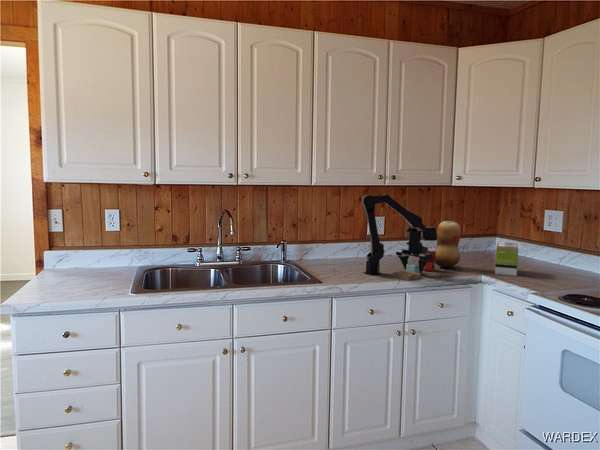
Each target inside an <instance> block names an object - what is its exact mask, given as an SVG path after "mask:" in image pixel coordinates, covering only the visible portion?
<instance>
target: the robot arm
mask: <svg viewBox="0 0 600 450" xmlns="http://www.w3.org/2000/svg"><path fill="white" fill-rule="evenodd" d="M361 203H362V205H363V208H364V212H365V214H366V218H367V223H368V224H367V225H368V230H369V236H370V250H369V253H367V254H366V255H365V257H366V260H367V261H365V271H363V273H364V274H366V275H370V276H375V275H376V276H377V275H382V272H380V269H381V267H380V266H381V264H380V261H381V259H383V258H384V256H385V253H386V252H385V244H384V243H383V242H380V238H379V232H378V227H377V222H376V221H377V220H376V215H375V214H376V213H375V211H376V205H377V204H382V203H383V204H384V203H385V204H386V205H387V206H389V207H390V208H391V209H393V210H394V211H395V212H397V214H399V215H400V216H401V217H403V219H404V220H405V221H406V222H407V223H408V224H409V225H410V226H411V227H410V226H407V227H406V228H405V229H404V231H405V232H408V241H407V242H406V245H408V247H407V249H406V248H399V249H396V251H395V255H396V256H397V258H399V260H400V262H401V264H402V266H403V268H404V271H405V270H406V264H409V257H410V256H411V257H414V258H415V257H416V258H419V259H420V260H419V259H418V264H419V271H420V273H421V274H422V273H423V272H424V271H423V269H424V267H425V265H426V263H427V262H428V261H430V260H433V255H432V254H430V253H427V251H428V248H429V247H426V246H425V245H423V242H422V241H421V239H422V240H423V241H424V242H425V241H426V242H427V241H428V242H429V241H430V242H431V241H432V242H437V228H436V226H431V227H427V226H425V224H424V223H423V218H422V217H421V216H419V215H417V214H416V213H413V212H411V211H410V210H408V209H407V208H405V207H404V206H402V204H400V203H399V202H397V201H396V200H395V199H393V198H392V197H391V196H390V195H389V194H385V193H384V194H381V195H380V194H378V195H371V194H365V195H364V196H362V198H361ZM420 253H421V254H420Z"/></svg>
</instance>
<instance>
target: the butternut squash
mask: <svg viewBox="0 0 600 450" xmlns="http://www.w3.org/2000/svg"><path fill="white" fill-rule="evenodd" d="M436 232H437V240H436V246H435V248H434V249H435V250H436V256H435V265H437V266H438V267H441V268H447V269H448V268H450V269H451V268H453V267H454V266H456V265H458V263H459V262H460V259H461V253H460V248H459V243H460V240H461V225H460V224H459V223H457V222H455V221H451V220H450V221H449V220H444V221H441V222H440V223H439V224H438V226H437V229H436Z"/></svg>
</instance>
